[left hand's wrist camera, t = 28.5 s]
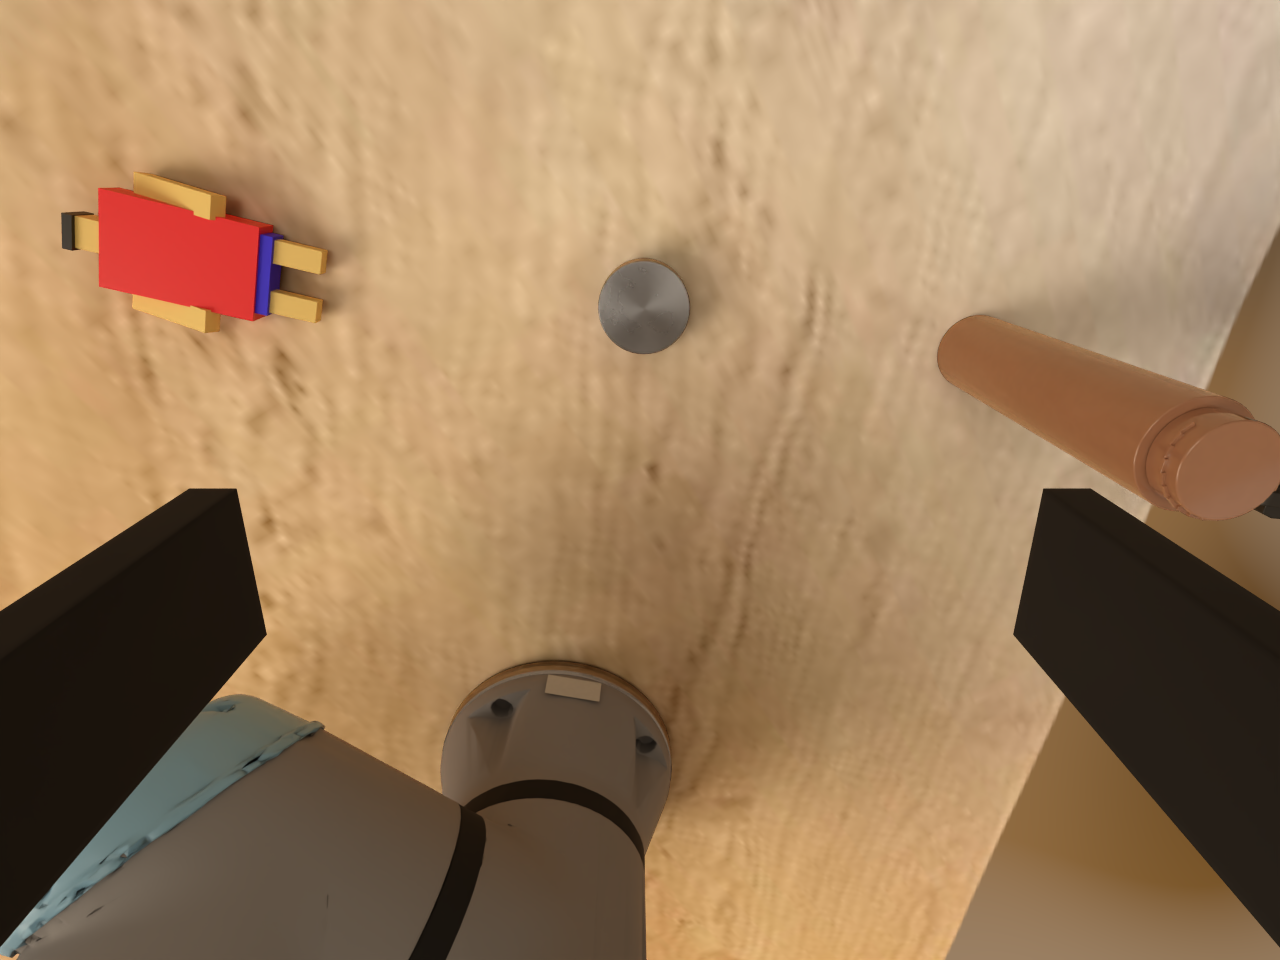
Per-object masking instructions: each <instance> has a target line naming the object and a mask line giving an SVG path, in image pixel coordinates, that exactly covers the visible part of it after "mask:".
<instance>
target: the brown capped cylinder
mask: <svg viewBox="0 0 1280 960" xmlns="http://www.w3.org/2000/svg"><path fill="white" fill-rule="evenodd" d="M937 358H938V366H939V369H940V371H941V373H942V375H943V376H944V377H945V379H946V380H947V381H949V382H950V383H951V384H953V385H955V386H956V387H958V388H960V389H961V390H963V391H965V392H966V393H968V394H970V395H971V396H973V397H975V398H976V399H978V400H980V401H981V402H983V403H985V404H986V405H988V406H990V407H991V408H993V409H995V410H996V411H998V412H1000V413H1001V414H1003V415H1005V416H1006V417H1008V418H1010V419H1011V420H1013V421H1015V422H1016V423H1018V424H1020V425H1021V426H1023V427H1025V428H1026V429H1028V430H1030V431H1031V432H1033V433H1035V434H1036V435H1038V436H1040V437H1041V438H1043V439H1045V440H1046V441H1048V442H1050V443H1051V444H1053V445H1055V446H1056V447H1058V448H1060V449H1061V450H1063V451H1065V452H1066V453H1068V454H1070V455H1071V456H1073V457H1075V458H1076V459H1078V460H1080V461H1081V462H1083V463H1085V464H1086V465H1088V466H1090V467H1091V468H1093V469H1095V470H1096V471H1098V472H1100V473H1101V474H1103V475H1105V476H1106V477H1108V478H1110V479H1111V480H1113V481H1115V482H1116V483H1118V484H1120V485H1121V486H1123V487H1125V488H1126V489H1128V490H1129V491H1131V492H1133V493H1134V494H1136V495H1138V496H1139V497H1141V498H1143V499H1144V500H1146V501H1148V502H1149V503H1151V504H1153V505H1155V506H1157V507H1159V508H1162V509H1165V510H1170V511H1180V512H1182V513H1183V514H1185V515H1187V516H1189V517H1193V518H1197V519H1201V520H1217V521H1219V520H1227V519H1232V518H1235V517H1239V516H1241V515H1243V514H1246V513H1248V512H1250V511H1251V510H1253V509H1255V508H1256V507H1258V506H1259V505H1260V504H1262V503H1263V502H1264V501H1265V500H1266V499H1267V498H1268V497H1269V496H1270V495H1271V494H1272V493H1273V492H1274V491H1276V490H1277V488H1278V486H1279V484H1280V435H1279V434H1278V433H1277V432H1276V430H1274V429H1273V428H1272V427H1270V426H1269V425H1267V424H1265V423H1262V422H1259V421H1257V420H1255V419H1254V417H1253V416H1252V414H1251V413H1250V412H1249V411H1248V409H1247V408H1246V407H1244V406H1243V405H1242V404H1240V403H1239V402H1237V401H1235V400H1233V399H1230V398H1227V397H1224V396H1221V395H1218V394H1215V393H1212V392H1209V391H1207V390H1204V389H1201V388H1198V387H1195V386H1192V385H1189V384H1186V383H1183V382H1180V381H1177V380H1174V379H1172V378H1169V377H1166V376H1163V375H1160V374H1157V373H1154V372H1151V371H1148V370H1145V369H1142V368H1139V367H1136V366H1134V365H1131V364H1128V363H1125V362H1122V361H1119V360H1116V359H1113V358H1110V357H1107V356H1104V355H1101V354H1099V353H1096V352H1093V351H1090V350H1087V349H1084V348H1081V347H1078V346H1075V345H1072V344H1069V343H1066V342H1064V341H1061V340H1058V339H1055V338H1052V337H1049V336H1046V335H1043V334H1040V333H1037V332H1034V331H1031V330H1028V329H1026V328H1023V327H1020V326H1017V325H1014V324H1011V323H1008V322H1005V321H1002V320H999V319H996V318H993V317H991V316H986V315H975V316H970V317H967V318H965V319H962V320H960V321H959V322H957V323H956V324H955V325H953V326H952V327H951V328H950V329H949V330H948V331H947V333H946V334H945V335H944V337H943V339H942V341H941V343H940V346H939V349H938V357H937Z"/></svg>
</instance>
